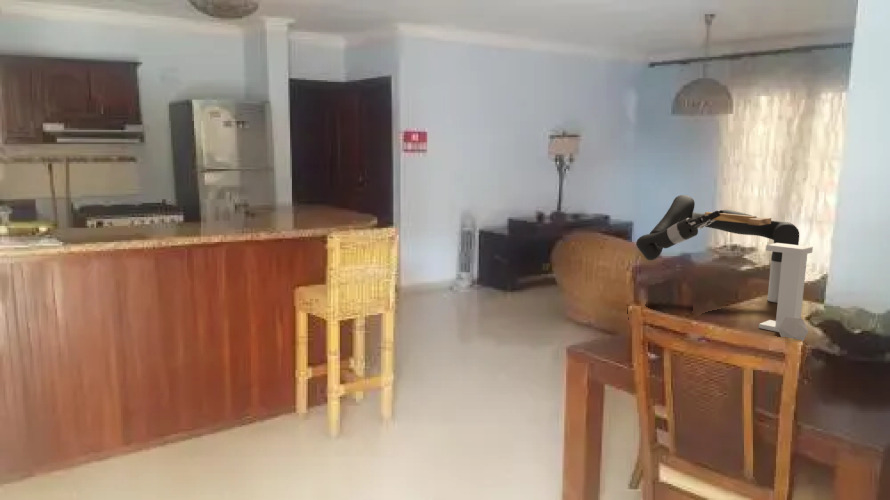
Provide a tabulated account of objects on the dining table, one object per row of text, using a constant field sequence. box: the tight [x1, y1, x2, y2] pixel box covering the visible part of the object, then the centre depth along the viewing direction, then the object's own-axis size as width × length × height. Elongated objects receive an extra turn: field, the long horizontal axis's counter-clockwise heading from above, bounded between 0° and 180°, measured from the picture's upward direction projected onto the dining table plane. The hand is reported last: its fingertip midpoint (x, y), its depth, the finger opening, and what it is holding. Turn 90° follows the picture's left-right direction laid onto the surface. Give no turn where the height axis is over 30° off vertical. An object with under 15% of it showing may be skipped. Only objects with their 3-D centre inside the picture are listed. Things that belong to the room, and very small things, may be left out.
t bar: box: [704, 211, 772, 226], centre depth 251 cm, size 10×22×2 cm, turn 42°
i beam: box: [758, 242, 814, 333], centre depth 240 cm, size 9×12×30 cm
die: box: [778, 317, 809, 342], centre depth 225 cm, size 8×9×10 cm
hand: (720, 212), depth 254 cm, fingers closed on t bar, 3 cm apart
